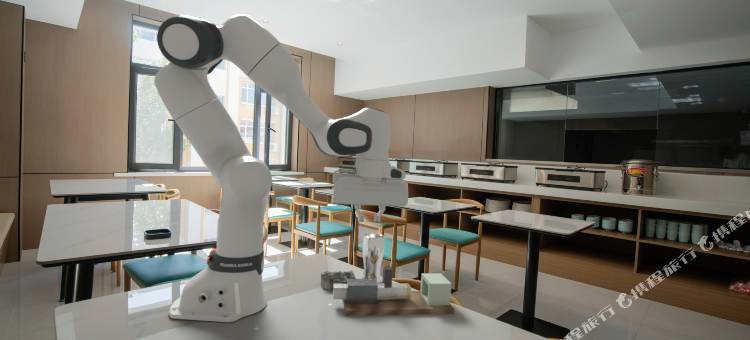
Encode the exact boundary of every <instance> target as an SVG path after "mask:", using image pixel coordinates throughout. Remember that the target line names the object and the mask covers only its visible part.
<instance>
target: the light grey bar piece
mask: <svg viewBox="0 0 750 340" xmlns="http://www.w3.org/2000/svg"><path fill="white" fill-rule="evenodd" d="M381 280H382V281H381V283H379V284H377V285H378V292H377V299H393V298H406V299H410V298H411V291H412V287H411V285H410V284H409V283H393V268H392V266H391V265H383V267H382V279H381ZM347 289H348V286H347V284H333V288H332V298H333V300H343V299H347Z"/></svg>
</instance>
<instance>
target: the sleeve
mask: <svg viewBox="0 0 750 340" xmlns="http://www.w3.org/2000/svg"><path fill="white" fill-rule="evenodd" d="M346 284H347V286H348V289H347V299H346V303H347V304H377V292H378V285H377V283H376V280H375V279H362V278H356V279H346Z"/></svg>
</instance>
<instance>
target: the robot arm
mask: <svg viewBox="0 0 750 340" xmlns="http://www.w3.org/2000/svg"><path fill="white" fill-rule="evenodd" d="M156 41H157V42H156V43H157V46H158V49H159V50H160V53H161V54H162V56H163V57H164V58H165V59H166V60H167V61H168V62H169V63H168V64H166V65H164V66H163V67H161V68H160V69H159V70H158V71H157V73H156V74H155V75H154V80H153V81H154V87H155V88H156V91H157V92H158V95H159V97H160V99H161V101H162V103H163V104H164V106H165V109H167V111H168V113H169V114H170V116H171V117H172V119H173V121H174V122H175V123H176V125H177V126H178V128H179V129H180V130H181V132H182V133H183V135H184V136H185V137H186V139H187V141H189V143H190V144H191V146H192V147H193V148H194V150H195V152H196V153H197V154H198V156H199V158H200V159H201V161H202V162H203V164H204V165H205V167H206V168H207V170H208V171H209V173H210V174H211V176H212V177H213V179H214V180H215V181H216V183H217V184H218V186H219V187H220V189H221V198H220V205H219V215H218V218H217V227H216V229H217V231H216V248H212V249H211V250H210V252H209V254H208V256H207V258H206V264H207V266H206V267H205V268H203V269H202V270H200V272H198V273H197V274H195V275H193V276H192V277H191V278H190V279H189V280H188V281H187V282H186V284H185V285H184V286H183V289H182V291H181V294H180V296H179V297H178V298H177V299H175V301H173V302H172V304H171V306H170V307H169V313H168V314H169V315H168V316H169V317H170V318H171V319H174V320H176V319H177V320H191V321H202V322H203V321H204V322H221V323H233V322H236V321H238V320H240V319H242V318H244V317H247V316H251V315H253V314H256V313H259V312H260V311H262V310H263V309H265V307H266V305H267V299H266V295H265V291H264V285H263V284H264V283H263V271H264V270H265V269H264V267H265V266H264V265H265V254H264V253H265V252H264V250H263V241H264V240H263V239H264V223H265V216H266V215H265V214H266V211H267V208H268V207H267V206H268V201H269V196H270V190H271V188H272V186H273V177H272V173H271V170H270V169H269V167H268V165H267V163H265V162H264V161H263V160H261V159H259V158H258V157H255V156H252V153H251V152H250V150H249V148H248V147H247V145H246V143H245V141H244V140H243V137H242V136H241V134H240V131H239V128H238V126H237V125H236V123H235V122H234V120H233V118H232V117H231V116H230V113H229V112H228V110H227V109H226V108H225V106H224V104H223V102H221V100H220V99H219V98H218V96H217V94H216V93H215V90H214V89H213V88H212V86H211V84H210V82H209V80H208V75H209V74H211V73H212V72H213V71H214V70H215V69H216V68H217V67H218V66H219V65H220V64H221V63H222V62H223V60H225V61H228V62H230V63H232V64H233V65H235V66H236V67H237V68H238V69H239V70H240V71H241V72H242V73H244V75H246V76H247V78H249V80H251V81H252V82H253V83H254V84H255V85H256V86H257V87H259V88H260V89H261V90H262V91H264V92H265V93H267V94H268V95H269V96H270V97H272V98H273V99H275V100H276V101H278V102H279V103H280V104H282V105H283V106H284V107H285V108H287V109H288V111H289V112H290V113H291V114H292V115H294V116H295V118H296V119H297V120H298V121H299V122H300V123H301V124H302V125H303V126H304V127H305V128H306V129H307V131H309V133H310V135H311V137H312V139H313V142H314V144H315V146H316V148H317V149H318V150H319V152H321V153H322V155H325V156H328V157H349V156H353V155H355V156H356V157H355V158H356V160H355V161H356V162H355V168H348V169H346V168H345V169H344V168H338V169H336V170H335V171H333V172H332V183H333V189H332V191H333V192H332V196H331V198H332V202H333V203H334V204H336V205H354V209H355V212H356V213H357V222H358V223H359V222H361V223H362V222H363V223H364V222H365V215H364V214H363V213H361V212H360V209H361V207H362V206H378V209H379V210H378V212H377V214H374V215H373V222H375V223H381V216H383V214H384V212H385V211H386V207H406V206H407V205H408V204H409V203H408V202H409V185H408V183H407V181H406V180H405V179H406V175H407V173H406V171H404V170H402V169H399V168H397V167H396V166H394V165H390V154H389V149H390V146H391V142H392V141H391V140H392V139H391V138H392V126H391V125H392V124H391V119H390V115H389V114H388V113H387V112H385V111H383V109H382V110H381V109H378V108H373V107H364V108H362V109H361V110H359V111H357V112H355V113H353V114H351V115H348V116H344V117H342V118H337V119H334V118H331V117H330V116H328V115H327V114H326V113H325V112H324V111H323V110H322V109H321V108H320V107H319V106H318V104H316V103H315V102H314V101H313V100H312V98H311V97H310V96H309V94H307V92H306V91H305V88H304V85H303V81H302V75H301V67H300V65H299V64H298V62H297V61H296V59H295V58H294V57H293V55H292V54H291V52H290V51H289V50H288V49H287V48H286V47H285V46H284V45H283V43H281V41H279V40H278V39H277V37H275V35H273V34H272V32H270V31H269V30H267V28H265V27H264V26H263V25H262V24H261V23H259V22H257V21H256V20H255V19H253V18H252V17H250V15H247V14H236V15H233V16H231V17H230V18H227V19H226V21H224V22H223V23H222V24H219V25H217V24H215V23H213V22H211V21H209V20H207V19H205V18H201V17H199V16H192V15H185V14H178V15H174V16H172V17H169V18H167V19H165V20H164V21H163V22H162V23H161V25H160V26H159V28H158V30H157V35H156Z"/></svg>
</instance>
